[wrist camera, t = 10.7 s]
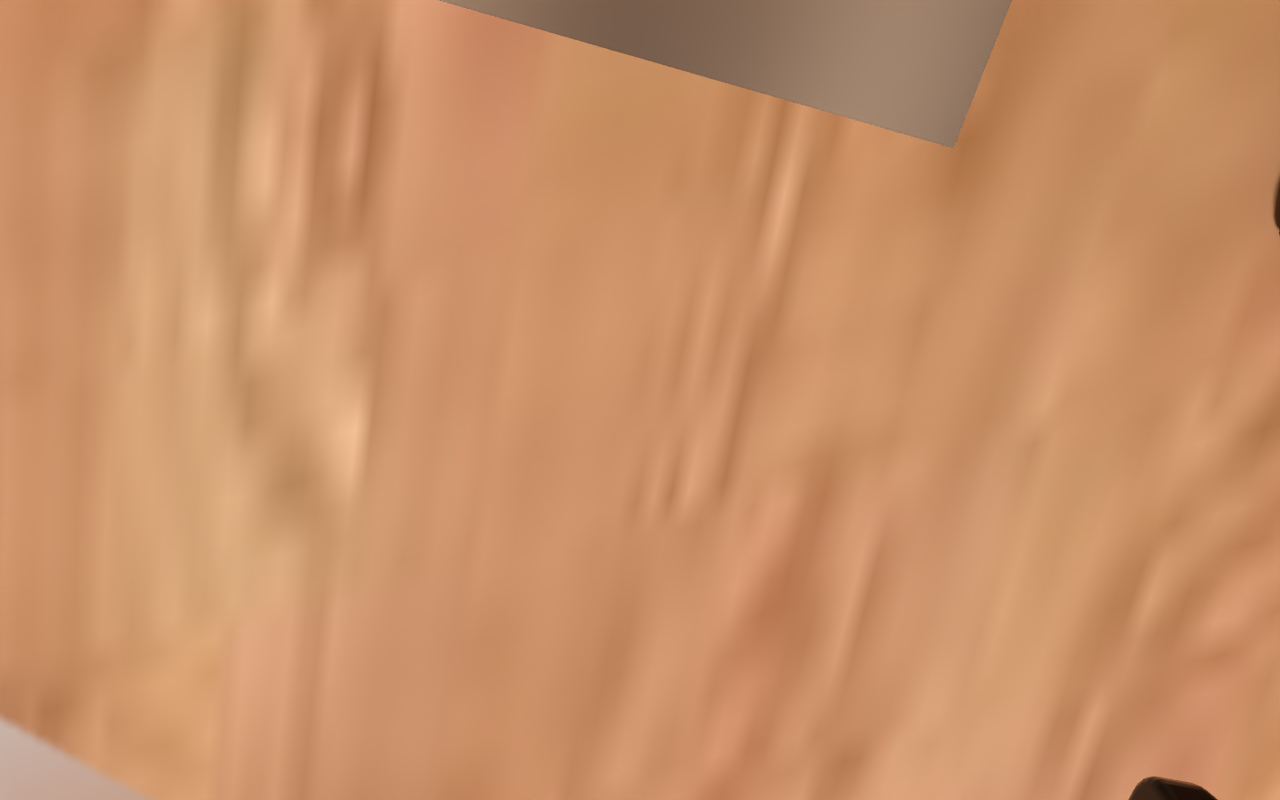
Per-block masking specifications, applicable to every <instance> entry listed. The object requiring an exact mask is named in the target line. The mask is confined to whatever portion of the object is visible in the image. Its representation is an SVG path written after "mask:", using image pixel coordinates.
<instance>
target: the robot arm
mask: <svg viewBox="0 0 1280 800" xmlns="http://www.w3.org/2000/svg"><path fill="white" fill-rule="evenodd" d="M1279 234H1280V232H1279ZM1129 800H1217V799H1216V798H1215V797H1214V796H1213V795H1211V794H1210V793H1209V792H1208V791H1207V790H1205V789H1204V788H1202V787H1200V786H1198V785H1196V784H1193V783H1189V782H1183V781H1178V780H1172V779H1167V778H1161V777H1147V778H1145V779H1143V780H1142V781H1141V782H1139V783H1138V784H1137V786H1136V787H1135V789H1134V790H1133V792H1132V794H1131V796H1130V798H1129Z"/></svg>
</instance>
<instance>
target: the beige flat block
mask: <svg viewBox="0 0 1280 800" xmlns="http://www.w3.org/2000/svg"><path fill="white" fill-rule="evenodd" d="M440 1H443V2H447V3H450V4H454V5H457V6H460V7H464V8H467V9H471V10H474V11H478V12H481V13H485V14H488V15H492V16H495V17H499V18H502V19H506V20H509V21H513V22H516V23H520V24H523V25H527V26H530V27H534V28H537V29H541V30H544V31H547V32H551V33H554V34H558V35H561V36H565V37H568V38H572V39H575V40H579V41H582V42H586V43H589V44H593V45H596V46H600V47H603V48H607V49H610V50H614V51H617V52H621V53H624V54H627V55H631V56H634V57H638V58H641V59H645V60H648V61H652V62H655V63H659V64H662V65H666V66H669V67H673V68H676V69H680V70H683V71H687V72H690V73H694V74H697V75H701V76H704V77H708V78H711V79H714V80H718V81H721V82H725V83H728V84H732V85H735V86H739V87H742V88H746V89H749V90H753V91H756V92H760V93H763V94H767V95H770V96H774V97H777V98H781V99H784V100H788V101H791V102H795V103H798V104H801V105H805V106H808V107H812V108H815V109H819V110H822V111H826V112H829V113H833V114H836V115H840V116H843V117H847V118H850V119H854V120H857V121H861V122H864V123H868V124H871V125H875V126H878V127H881V128H885V129H888V130H892V131H895V132H899V133H902V134H906V135H909V136H913V137H916V138H920V139H923V140H927V141H930V142H934V143H937V144H941V145H944V146H948V147H951V148H953V147H954V145H955V142H956V140H957V137H958V135H959V132H960V130H961V127H962V125H963V122H964V120H965V117H966V115H967V112H968V109H969V107H970V104H971V102H972V99H973V97H974V94H975V92H976V89H977V87H978V84H979V82H980V79H981V77H982V74H983V71H984V69H985V66H986V64H987V61H988V59H989V56H990V54H991V51H992V49H993V46H994V44H995V41H996V39H997V36H998V34H999V31H1000V28H1001V26H1002V23H1003V21H1004V18H1005V16H1006V13H1007V11H1008V8H1009V6H1010V3H1011V1H1012V0H440Z"/></svg>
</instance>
